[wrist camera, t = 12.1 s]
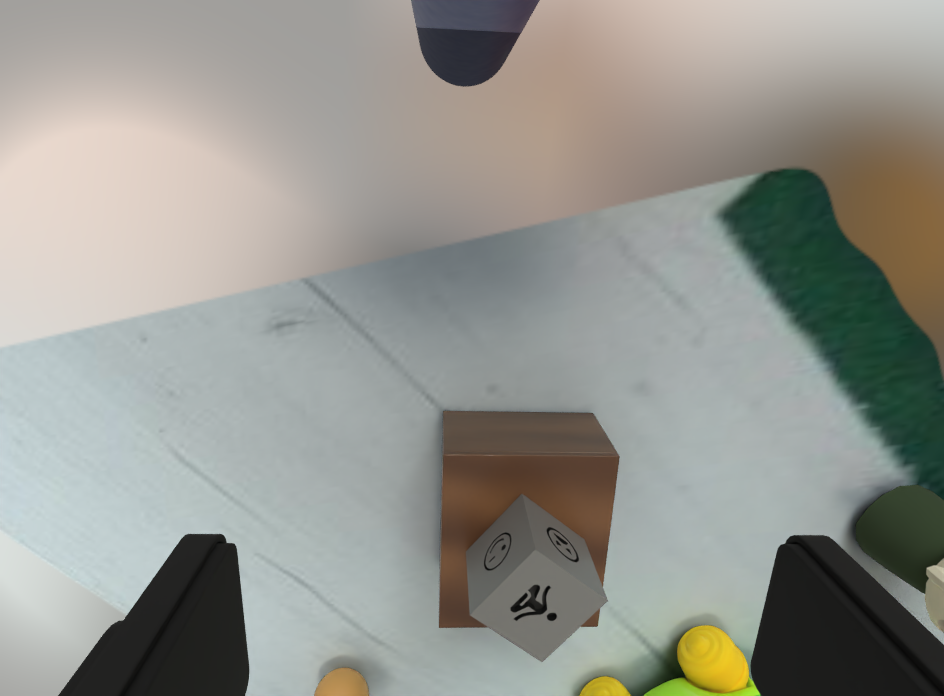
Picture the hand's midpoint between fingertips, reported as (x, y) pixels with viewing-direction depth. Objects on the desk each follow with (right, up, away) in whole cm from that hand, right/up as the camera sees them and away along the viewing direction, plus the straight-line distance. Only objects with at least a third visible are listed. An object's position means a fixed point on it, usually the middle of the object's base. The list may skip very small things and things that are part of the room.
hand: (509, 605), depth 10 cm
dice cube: (+2, -7, +24) cm, 25 cm away
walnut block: (+2, -6, +29) cm, 30 cm away
